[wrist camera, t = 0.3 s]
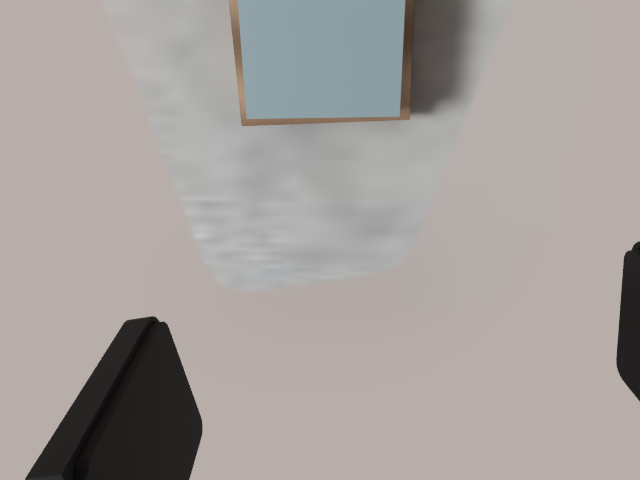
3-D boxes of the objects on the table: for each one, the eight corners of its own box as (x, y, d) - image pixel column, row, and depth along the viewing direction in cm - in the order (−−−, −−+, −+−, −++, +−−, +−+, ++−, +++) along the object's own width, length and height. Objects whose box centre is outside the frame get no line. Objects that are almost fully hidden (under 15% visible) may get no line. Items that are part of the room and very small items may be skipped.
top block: (241, -52, 32) (233, -58, 29) (401, -55, 32) (408, -61, 29) (252, 110, 36) (246, 118, 33) (394, 108, 36) (399, 116, 33)
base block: (230, -62, 34) (221, -69, 32) (408, -71, 34) (416, -78, 31) (247, 118, 39) (241, 126, 36) (403, 111, 39) (409, 119, 36)
